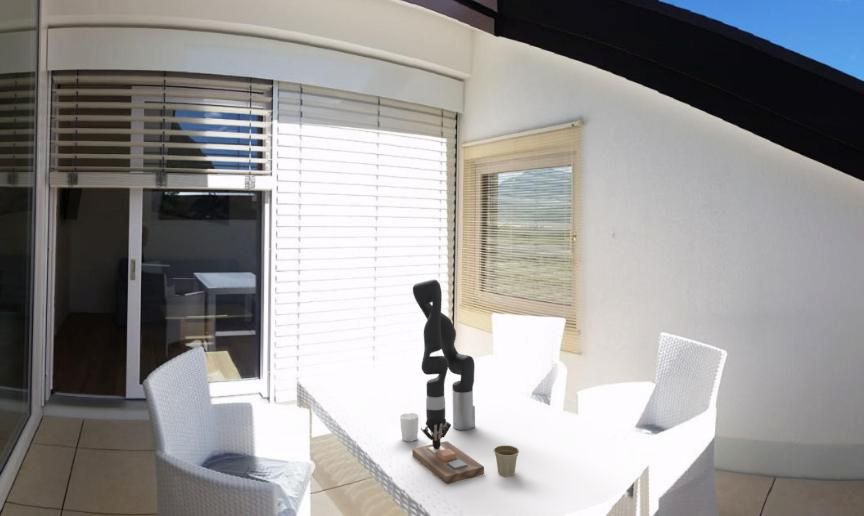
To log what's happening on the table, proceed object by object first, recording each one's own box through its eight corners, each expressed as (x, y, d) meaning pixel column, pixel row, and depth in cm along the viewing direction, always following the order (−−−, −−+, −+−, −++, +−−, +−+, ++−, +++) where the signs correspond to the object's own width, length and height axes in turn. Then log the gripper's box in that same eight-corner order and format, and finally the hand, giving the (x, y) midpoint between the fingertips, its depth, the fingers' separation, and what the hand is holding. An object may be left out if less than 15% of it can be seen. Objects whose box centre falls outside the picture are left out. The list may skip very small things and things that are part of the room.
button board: (447, 447, 233) (447, 440, 233) (484, 474, 208) (484, 466, 208) (412, 456, 226) (412, 448, 225) (446, 484, 201) (446, 476, 201)
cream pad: (439, 452, 228) (439, 444, 227) (445, 456, 223) (445, 449, 223) (428, 454, 225) (428, 447, 225) (434, 459, 221) (434, 452, 220)
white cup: (402, 443, 239) (402, 420, 238) (399, 436, 247) (398, 414, 246) (420, 440, 241) (420, 418, 241) (416, 434, 249) (415, 412, 248)
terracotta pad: (449, 456, 220) (449, 448, 220) (455, 461, 216) (455, 453, 216) (437, 458, 218) (437, 451, 218) (444, 464, 213) (444, 456, 213)
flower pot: (516, 466, 214) (516, 444, 214) (521, 478, 205) (521, 455, 204) (492, 467, 214) (491, 445, 213) (495, 479, 205) (495, 456, 204)
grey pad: (459, 467, 213) (459, 459, 213) (466, 472, 209) (466, 464, 209) (447, 470, 211) (447, 462, 211) (454, 475, 206) (454, 467, 206)
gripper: (445, 400, 229) (446, 442, 230) (416, 406, 223) (417, 448, 224) (454, 405, 222) (455, 448, 224) (425, 411, 216) (426, 455, 217)
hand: (436, 448), depth 224 cm, fingers closed
